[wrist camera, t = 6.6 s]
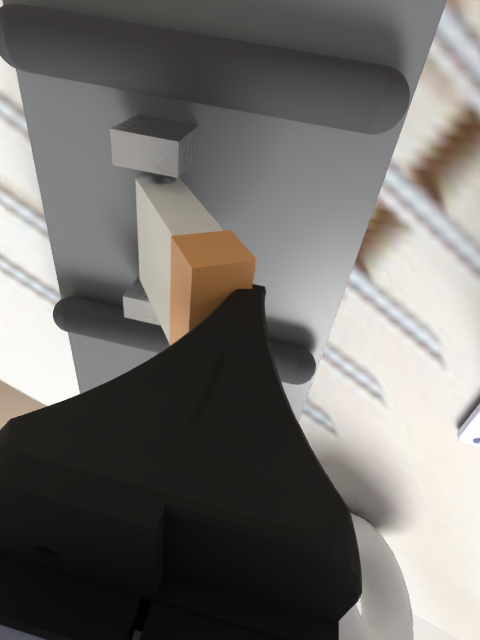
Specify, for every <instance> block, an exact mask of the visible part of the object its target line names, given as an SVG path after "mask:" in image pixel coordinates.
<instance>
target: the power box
mask: <svg viewBox="0 0 480 640" xmlns="http://www.w3.org/2000/svg"><path fill="white" fill-rule="evenodd" d="M446 1H447V0H3V6H2V7H0V56H1V57H2V58H3V59H4V60H5V61H6V62H7V63H8V64H9V65H11V66H12V67H14V68H16V71H17V76H18V81H19V87H20V92H21V97H22V102H23V107H24V112H25V117H26V122H27V127H28V132H29V137H30V142H31V147H32V152H33V157H34V163H35V168H36V173H37V178H38V183H39V188H40V193H41V198H42V203H43V208H44V213H45V218H46V223H47V228H48V233H49V239H50V244H51V249H52V254H53V259H54V264H55V269H56V274H57V279H58V284H59V289H60V294H61V300H60V301H59V302H58V303H57V304H56V305H55V307H54V310H53V318H54V321H55V323H56V325H57V326H58V327H59V328H60V329H62V330H64V331H67V332H68V335H69V340H70V345H71V350H72V355H73V360H74V365H75V370H76V375H77V380H78V385H79V391H80V394H81V393H84V392H86V391H88V390H90V389H92V388H95V387H97V386H99V385H101V384H103V383H106V382H108V381H110V380H112V379H114V378H116V377H118V376H120V375H122V374H124V373H126V372H128V371H129V370H131V369H133V368H135V367H136V366H138V365H140V364H142V363H144V362H145V361H147V360H149V359H150V358H152V357H154V356H155V355H157V354H158V353H160V352H161V351H163V350H164V349H166V348H167V347H169V346H170V344H169V342H168V340H167V337H166V335H165V333H164V331H163V329H162V327H161V324H160V322H159V320H158V318H157V316H156V314H155V311H154V309H153V307H152V305H151V303H150V301H149V299H148V296H147V294H146V292H145V290H144V288H143V286H142V283H141V281H140V276H139V253H138V229H137V206H136V182H135V178H138V175H139V174H140V173H142V172H150V173H155V174H161V175H166V176H171V177H176V178H178V177H179V178H180V179H181V180H182V181H183V183H184V184H185V185H186V186H187V187H188V188H189V190H190V191H191V192H192V193H193V194H194V196H195V197H196V198H197V199H198V200H199V201H200V203H201V204H202V205H203V206H204V207H205V208H206V210H207V211H208V212H209V213H210V214H211V216H212V217H213V218H214V219H215V220H216V221H217V223H218V224H219V225H220V226H221V227H222V228H223V230H224V231H225V230H231V231H232V232H233V233H234V234H235V235H236V236H237V237H238V239H239V240H240V241H241V242H242V243H243V244H244V245H245V247H246V248H247V249H248V250H249V251H250V252H251V253H252V255H253V256H254V257H255V258H256V259H257V262H256V268H255V273H254V279H253V284H256V285H260V286H265V289H266V296H265V315H266V324H267V330H268V335H269V341H270V345H271V349H272V353H273V357H274V361H275V364H276V368H277V371H278V374H279V377H280V380H281V383H282V386H283V388H284V391H285V394H286V396H287V398H288V401H289V403H290V406H291V408H292V410H293V413H294V415H295V417H296V419H297V421H298V422H299V419H300V416H301V413H302V411H303V408H304V405H305V402H306V399H307V396H308V394H309V391H310V388H311V385H312V382H313V379H314V377H315V374H316V371H317V368H318V365H319V362H320V359H321V357H322V354H323V351H324V348H325V345H326V342H327V340H328V337H329V334H330V331H331V328H332V325H333V323H334V320H335V317H336V314H337V311H338V308H339V306H340V303H341V300H342V297H343V294H344V291H345V288H346V286H347V283H348V280H349V277H350V274H351V271H352V269H353V266H354V263H355V260H356V257H357V254H358V252H359V249H360V246H361V243H362V240H363V237H364V234H365V232H366V229H367V226H368V223H369V220H370V217H371V215H372V212H373V209H374V206H375V203H376V200H377V198H378V195H379V192H380V189H381V186H382V183H383V180H384V178H385V175H386V172H387V169H388V166H389V163H390V161H391V158H392V155H393V152H394V149H395V146H396V144H397V141H398V138H399V135H400V132H401V129H402V126H403V124H404V121H405V118H406V115H407V112H408V109H409V107H410V104H411V101H412V98H413V95H414V92H415V90H416V87H417V84H418V81H419V78H420V75H421V72H422V70H423V67H424V64H425V61H426V58H427V55H428V53H429V50H430V47H431V44H432V41H433V38H434V36H435V33H436V30H437V27H438V24H439V21H440V18H441V16H442V13H443V10H444V7H445V4H446Z"/></svg>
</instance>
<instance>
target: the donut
mask: <svg viewBox="0 0 480 640" xmlns="http://www.w3.org/2000/svg"><path fill="white" fill-rule="evenodd" d="M351 516H352V520H353V524H354V529H355V533H356V538H357V543H358V548H359V555H360V562H361V570H362V594H361V596H360V599H361V608H362V611H361V616H360V614H359V611H358V609H357V606H356V604H355V605H354V606H353V607H352V608H351V609H350V610H349V611H348V612H347V613H346V614H345V615H344V616H343V617H342V619H341V620H340V621H339V640H413V616H412V610H411V604H410V599H409V594H408V590H407V587H406V584H405V581H404V577H403V574H402V571H401V569H400V567H399V565H398V562H397V560H396V558H395V556H394V554H393V552H392V550H391V549H390V547H389V546H388V544H387V542H386V541H385V539H384V538H383V536H382V535H381V534H380V533H379V532H378V531H377V530H376V529H375V528H374V527H373V526H372V525H371V524H370V523H369V522H368V521H366V520H365V519H363V518H361V517H359V516H357V515H355V514H352V513H351Z"/></svg>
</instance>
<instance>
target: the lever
mask: <svg viewBox="0 0 480 640" xmlns="http://www.w3.org/2000/svg"><path fill="white" fill-rule="evenodd" d="M135 182H136V206H137V229H138V253H139V276H140V281H141V283H142V286H143V288H144V290H145V292H146V294H147V296H148V299H149V301H150V303H151V305H152V307H153V309H154V311H155V314H156V316H157V318H158V320H159V322H160V324H161V327H162V329H163V331H164V333H165V335H166V337H167V340H168V342H169V344H170V345H172V344H173V343H175V342H176V341H177V340H179V339H180V338H181V337H183V336H184V335H185V334H186V333H188V332H189V331H190V330H192V329H193V328H194V327H195V326H197V325H198V324H199V323H200V322H201V321H203V320H204V319H205V318H206V317H207V316H208V315H209V314H210V313H211V312H213V311H214V310H215V309H216V308H217V307H218V306H219V305H220V304H221V303H222V302H223V301H224V300H225V299H226V298H227V297H228V296H229V295H230V294H231V293H232V292H234V291H235V290H236V289H252V285H253V279H254V273H255V268H256V262H257V259H256V258H255V257H254V256H253V255H252V253H251V252H250V251H249V250H248V249H247V248H246V247H245V245H244V244H243V243H242V242H241V241H240V240H239V239H238V237H237V236H236V235H235V234H234V233H233V232H232V231H231V230H225V231H224V230H223V228H222V227H221V226H220V225H219V224H218V223H217V221H216V220H215V219H214V218H213V217H212V216H211V214H210V213H209V212H208V211H207V210H206V208H205V207H204V206H203V205H202V204H201V203H200V201H199V200H198V199H197V198H196V197H195V196H194V194H193V193H192V192H191V191H190V190H189V188H188V187H187V186H186V185H185V184H184V183H183V181H182V180H181V179H180V178H179V177H178V178H176V177H171V176H166V175H161V174H155V173H150V172H142V173H140V174H139V175H138V178H135Z"/></svg>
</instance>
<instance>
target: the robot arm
mask: <svg viewBox="0 0 480 640" xmlns="http://www.w3.org/2000/svg"><path fill="white" fill-rule="evenodd" d="M265 296H266V289H265V286H260V285H256V284H253V285H252V289H236V290H235V291H234V292H232V293H231V294H230V295H229V296H228V297H227V298H226V299H225V300H224V301H223V302H222V303H221V304H220V305H219V306H218V307H217V308H216V309H215V310H214V311H213V312H211V313H210V314H209V315H208V316H207V317H206V318H205V319H204V320H203V321H201V322H200V323H199V324H198V325H197V326H195V327H194V328H193V329H192V330H190V331H189V332H188V333H186V334H185V335H184V336H183V337H181V338H180V339H179V340H177V341H176V342H175V343H173V344H172V345H170V346H169V347H167V348H166V349H164V350H163V351H161V352H160V353H158V354H157V355H155V356H154V357H152V358H150V359H149V360H147V361H145V362H144V363H142V364H140V365H138V366H136V367H135V368H133V369H131V370H129V371H128V372H126V373H124V374H122V375H120V376H118V377H116V378H114V379H112V380H110V381H108V382H106V383H103V384H101V385H99V386H97V387H95V388H92V389H90V390H88V391H86V392H84V393H81V394H79V395H77V396H74V397H72V398H69V399H67V400H64V401H61V402H59V403H56V404H53V405H50V406H47V407H44V408H42V409H39V410H36V411H33V412H30V413H28V414H25V415H22V416H18V417H16V418H12V419H10V420H9V421H8V422H7V423H6V424H5V426H4V427H3V428H2V429H1V430H0V640H339V621H340V620H341V619H342V617H343V616H344V615H345V614H346V613H347V612H348V611H349V610H350V609H351V608H352V607H353V606H354V605H355V604H356V603H357V602H358V600H359V598H360V596H361V594H362V570H361V562H360V555H359V548H358V543H357V538H356V533H355V529H354V524H353V520H352V516H351V512H350V510H349V508H348V507H347V505H346V504H345V502H344V501H343V499H342V498H341V496H340V495H339V493H338V492H337V490H336V489H335V487H334V485H333V484H332V482H331V481H330V479H329V477H328V476H327V474H326V473H325V471H324V469H323V468H322V466H321V464H320V462H319V461H318V459H317V457H316V456H315V454H314V452H313V450H312V449H311V447H310V445H309V443H308V441H307V439H306V437H305V435H304V433H303V431H302V429H301V427H300V425H299V423H298V421H297V419H296V417H295V415H294V413H293V410H292V408H291V406H290V403H289V401H288V398H287V396H286V394H285V391H284V388H283V386H282V383H281V380H280V377H279V374H278V371H277V368H276V364H275V361H274V357H273V353H272V349H271V345H270V341H269V335H268V330H267V324H266V315H265ZM457 435H458V438H459V440H460V441H461V442H463V443H466V444H471V445H475V446H479V447H480V403H479V405H478V406H477V407H476V409H475V410H474V411H473V412H472V414H471V415H470V416H469V418H468V419H467V420H466V421H465V423H464V424H463V425H462V426H461V428H460V429H459V430H458V432H457Z"/></svg>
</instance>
